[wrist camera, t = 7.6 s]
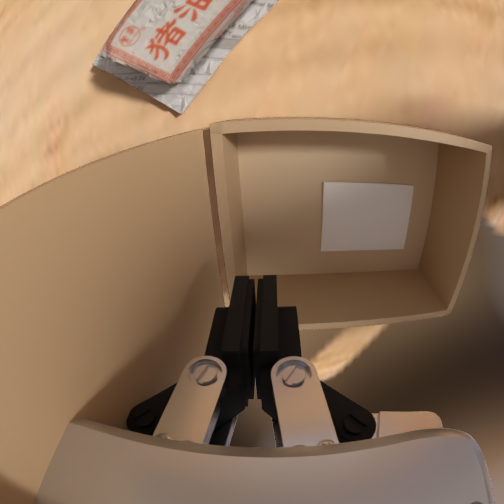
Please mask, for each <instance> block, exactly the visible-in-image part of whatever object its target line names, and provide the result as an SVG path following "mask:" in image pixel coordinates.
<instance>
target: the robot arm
mask: <svg viewBox="0 0 504 504" xmlns="http://www.w3.org/2000/svg"><path fill="white" fill-rule="evenodd" d="M299 337H300V336H299V326H298V316H297V308H296V306H285V307H277V275H263V279H258V285H257V300H256V296H255V282H254V279H249V275H243V276H235V279H234V284H233V289H232V295H231V300H230V305H229V307H217V308H216V310H215V313H214V317H213V322H212V326H211V330H210V334H209V338H208V342H207V346H206V351H205V355H204V356H201V357H197V358H195V359H193V360H191V361H190V362H189V363H188V364H187V365H186V367H185V368H184V370H183V372H182V374H181V376H180V378H179V381H178V382H177V383H175V384H174V385H172V386H170V387H168V388H167V389H165V390H163V391H161V392H160V393H158V394H156V395H154V396H153V397H151V398H149V399H147V400H145V401H143V402H142V403H140V404H138V405H136V406H135V407H133V408H132V409H131V411H130V413H129V415H128V417H127V420H126V424H127V427H128V429H129V430H124V429H120V428H116V427H113V426H109V425H105V424H102V423H98V422H95V421H91V420H87V419H78V420H74V421H72V422H69V423H68V425H67V427H66V429H65V431H64V433H63V435H62V437H61V440H60V442H59V444H58V446H57V448H56V450H55V452H54V455H53V457H52V459H51V461H50V464H49V466H48V468H47V470H46V473H45V475H44V478H43V480H42V482H41V485H40V488H39V490H38V493H37V495H36V498H35V501H34V503H33V504H495V501H494V495H493V488H492V484H491V480H490V476H489V472H488V468H487V465H486V462H485V459H484V457H483V454H482V452H481V450H480V448H479V446H478V445H477V443H476V441H475V440H474V439H473V438H472V437H471V436H470V435H469V434H467V433H465V432H462V431H458V430H454V429H446V428H442V423H441V419H440V418H439V417H438V415H436V414H434V413H433V412H427V411H423V412H380V413H379V414H371V413H370V412H369V411H368V410H366V409H365V408H363V407H361V406H360V405H358V404H356V403H355V402H353V401H351V400H350V399H348V398H346V397H345V396H343V395H342V394H340V393H339V392H337V391H336V390H334V389H332V388H331V387H329V386H327V385H326V384H325V383H323V382H322V381H320V380H319V377H318V374H317V371H316V368H315V367H314V365H313V364H312V363H311V362H310V361H309V360H307V359H305V358H302V357H301V346H300V338H299ZM255 378H256V388H257V398H258V399H261V400H262V409H263V410H264V411H265V412H266V413H267V414H269V415H270V416H271V417H272V424H273V430H274V436H275V442H276V448H257V447H254V448H253V447H233V446H229V444H230V440H231V437H232V434H233V430H234V427H235V424H236V420H237V414H239V413H240V412H241V411H243V410H244V409H245V406H248V399H254V385H255Z"/></svg>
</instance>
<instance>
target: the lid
mask: <svg viewBox="0 0 504 504" xmlns="http://www.w3.org/2000/svg"><path fill="white" fill-rule="evenodd" d="M217 307H225V305H224V298H223V292H222V285H221V278H220V271H219V264H218V257H217V250H216V242H215V235H214V227H213V219H212V211H211V203H210V195H209V186H208V177H207V168H206V159H205V149H204V139H203V129H199V130H193V131H189V132H185V133H181V134H177V135H173V136H169V137H166V138H162V139H159V140H155V141H152V142H149V143H145V144H142V145H139V146H136V147H133V148H130V149H127V150H124V151H121V152H118V153H115V154H112V155H110V156H107V157H104V158H102V159H99V160H96V161H94V162H91V163H89V164H86V165H84V166H81V167H79V168H77V169H74V170H72V171H69V172H67V173H65V174H63V175H60V176H58V177H56V178H54V179H52V180H50V181H48V182H45V183H43V184H41V185H39V186H37V187H35V188H33V189H31V190H29V191H28V192H26V193H24V194H22V195H20V196H18V197H16V198H15V199H13V200H11V201H9V202H7V203H6V204H4V205H2V206H1V207H0V504H33V503H34V501H35V498H36V495H37V493H38V490H39V488H40V485H41V482H42V480H43V478H44V475H45V473H46V470H47V468H48V466H49V464H50V461H51V459H52V457H53V455H54V452H55V450H56V448H57V446H58V444H59V442H60V440H61V437H62V435H63V433H64V431H65V429H66V427H67V425H68V423H69V422H72V421H74V420H78V419H87V420H91V421H95V422H98V423H102V424H105V425H109V426H113V427H116V428H120V429H124V430H129V429H128V427H127V424H126V420H127V417H128V415H129V413H130V411H131V409H132V408H133V407H135V406H136V405H138V404H140V403H142V402H143V401H145V400H147V399H149V398H151V397H153V396H154V395H156V394H158V393H160V392H161V391H163V390H165V389H167V388H168V387H170V386H172V385H174V384H175V383H177V382H178V381H179V378H180V376H181V374H182V372H183V370H184V368H185V367H186V365H187V364H188V363H189V362H190V361H191V360H193V359H195V358H197V357H201V356H204V355H205V351H206V346H207V342H208V338H209V334H210V330H211V326H212V322H213V317H214V313H215V310H216V308H217Z"/></svg>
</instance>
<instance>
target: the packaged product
mask: <svg viewBox="0 0 504 504" xmlns="http://www.w3.org/2000/svg"><path fill="white" fill-rule="evenodd" d="M278 1H279V0H136V1H135V2H134V3H133V5H132V6H131V7H130V9H129V10H128V11H127V13H126V14H125V15H124V16H123V18H122V19H121V20H120V22H119V23H118V25H117V26H116V27H115V29H114V31H113V32H112V33H111V35H110V36H109V38H108V39H107V41H106V42H105V44H104V45H103V47H102V49H101V51H100V52H99V54H98V56H97V57H96V59H95V60H94V62H93V65H94V66H96V67H98V68H100V69H102V70H104V71H106V72H108V73H110V74H111V75H113V76H115V77H117V78H119V79H121V80H123V81H124V82H126V83H128V84H130V85H131V86H133V87H135V88H137V89H138V90H140V91H142V92H144V93H146V94H147V95H149V96H151V97H153V98H154V99H156V100H158V101H160V102H161V103H163V104H165V105H167V106H168V107H170V108H172V109H173V110H175V111H177V112H178V113H180V114H181V115H182V114H183V113H184V112H185V111H186V109H187V108H188V107H189V105H190V104H191V103H192V101H193V100H194V99H195V98H196V96H197V95H198V94H199V92H200V91H201V90H202V88H203V87H204V86H205V84H206V83H207V82H208V81H209V79H210V78H211V77H212V76H213V74H214V73H215V71H216V70H217V68H218V67H219V65H220V64H221V62H222V61H223V60H224V59H225V57H226V56H227V55H228V54H229V53H230V52H231V51H232V49H233V48H234V47H235V46H236V45H237V44H238V43H239V42H240V40H241V39H242V38H243V37H244V36H245V35H246V34H247V33H248V32H249V31H250V29H251V28H253V27H254V26H255V25H256V24H257V23H258V22H259V21H260V20H261V19H262V18H264V16H265V15H266V14H267V13H268V12H269V11H270V10H271V9H272V8H273V7H274V6H275V4H276V3H277V2H278Z"/></svg>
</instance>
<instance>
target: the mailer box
mask: <svg viewBox="0 0 504 504" xmlns="http://www.w3.org/2000/svg"><path fill="white" fill-rule="evenodd" d="M209 125H210V136H211V147H212V157H213V167H214V177H215V187H216V196H217V205H218V214H219V223H220V231H221V239H222V247H223V255H224V263H225V271H226V279H227V286H228V293H229V301H230V300H231V295H232V289H233V284H234V279H235V276H243V275H249V279H254V282H255V296H256V300H257V285H258V279H263V275H277V307H285V306H296V308H297V316H298V326H299V330H311V329H328V328H344V327H357V326H369V325H379V324H388V323H397V322H405V321H412V320H420V319H426V318H434V317H440V316H446V315H450V313H451V310H452V308H453V306H454V304H455V301H456V298H457V296H458V294H459V291H460V288H461V286H462V283H463V280H464V277H465V275H466V272H467V269H468V266H469V263H470V259H471V256H472V253H473V250H474V246H475V242H476V239H477V235H478V231H479V227H480V223H481V219H482V214H483V209H484V205H485V199H486V194H487V188H488V181H489V174H490V166H491V157H492V146H491V145H488V144H485V143H482V142H479V141H476V140H472V139H469V138H465V137H462V136H458V135H454V134H450V133H446V132H442V131H437V130H432V129H427V128H421V127H415V126H409V125H402V124H395V123H387V122H378V121H368V120H357V119H342V118H320V117H273V118H250V119H235V120H226V121H221V122H216V123H211V124H209Z"/></svg>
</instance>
